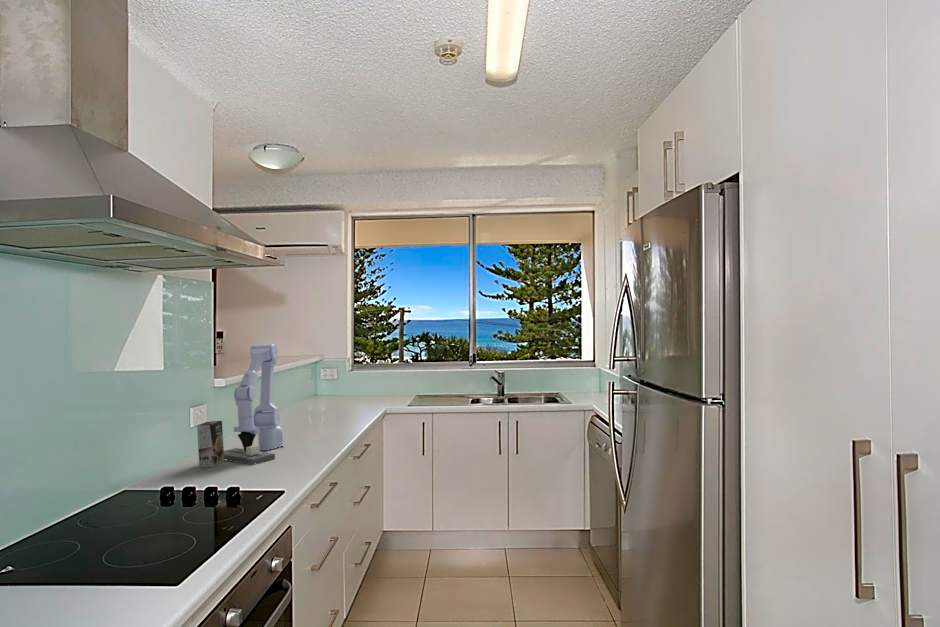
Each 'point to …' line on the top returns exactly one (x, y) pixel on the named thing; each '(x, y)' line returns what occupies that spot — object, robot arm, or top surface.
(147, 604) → the top surface
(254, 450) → the fader knob
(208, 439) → the coffee box
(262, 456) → the fader panel
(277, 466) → the top surface
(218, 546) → the top surface
